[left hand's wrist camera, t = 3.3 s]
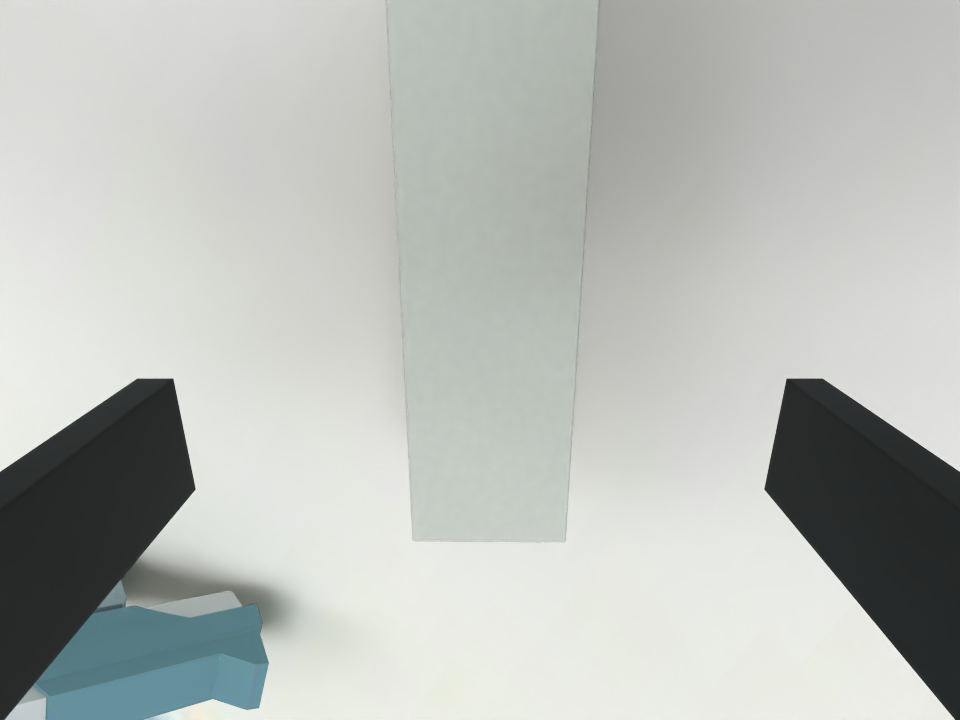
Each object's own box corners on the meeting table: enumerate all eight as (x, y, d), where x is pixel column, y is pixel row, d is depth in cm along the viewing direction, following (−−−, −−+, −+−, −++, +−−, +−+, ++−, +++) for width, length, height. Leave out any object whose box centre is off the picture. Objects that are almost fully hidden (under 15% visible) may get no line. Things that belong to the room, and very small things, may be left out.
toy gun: (-272, 586, 23) (-430, 849, 16) (231, 521, 34) (274, 657, 27) (-258, 651, 24) (-398, 924, 17) (223, 568, 36) (262, 710, 28)
